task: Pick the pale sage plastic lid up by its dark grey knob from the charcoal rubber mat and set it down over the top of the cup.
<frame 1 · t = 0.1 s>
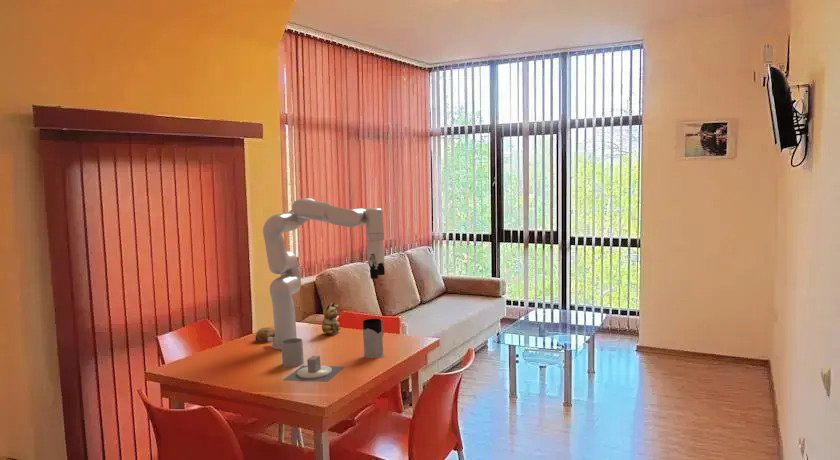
hand: (377, 276, 270), 31 cm above the table, tool pointing down, fingers open, 9 cm apart
glass holder: (377, 355, 263), on the table
lid: (314, 373, 240), point 1 cm above the table, touching mat
bread roll: (266, 340, 297), on the table
mat: (314, 374, 240), on the table
cup: (293, 365, 254), on the table
decorative figurine: (330, 334, 303), on the table
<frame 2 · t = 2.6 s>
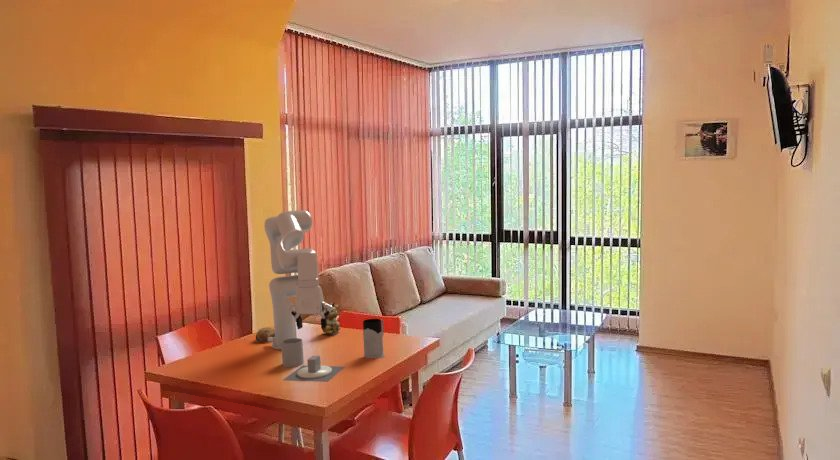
hand: (311, 328, 238), 18 cm above the table, tool pointing down, fingers open, 9 cm apart
nothing on the table moved.
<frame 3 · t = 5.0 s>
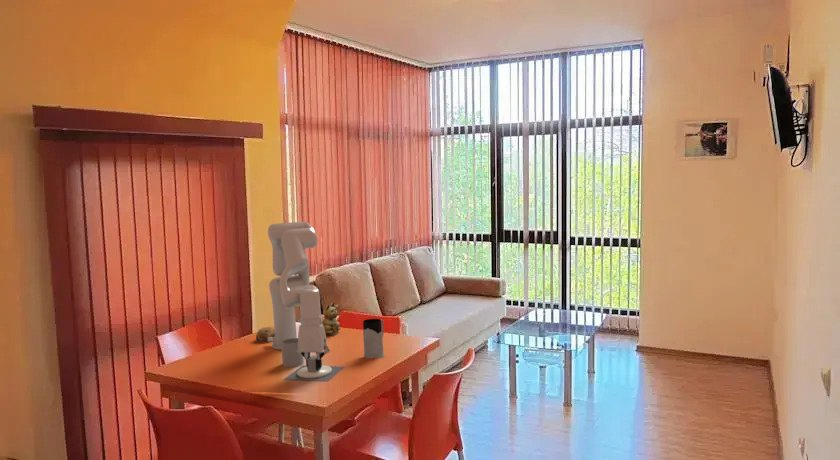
hand: (314, 368, 240), 2 cm above the table, tool pointing down, fingers closed on lid, 3 cm apart
lid: (314, 372, 240), point 1 cm above the table, touching gripper
everything else where it was.
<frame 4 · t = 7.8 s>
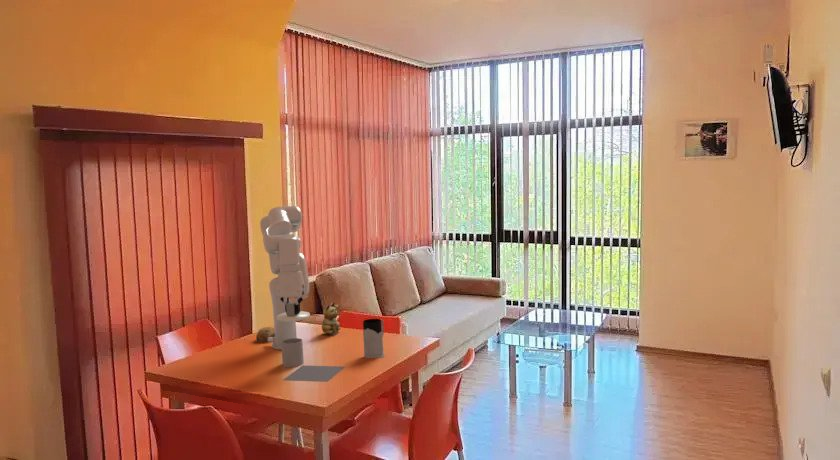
hand: (293, 313, 250), 22 cm above the table, tool pointing down, fingers closed on lid, 3 cm apart
lid: (293, 317, 250), point 20 cm above the table, touching gripper
everything else where it was.
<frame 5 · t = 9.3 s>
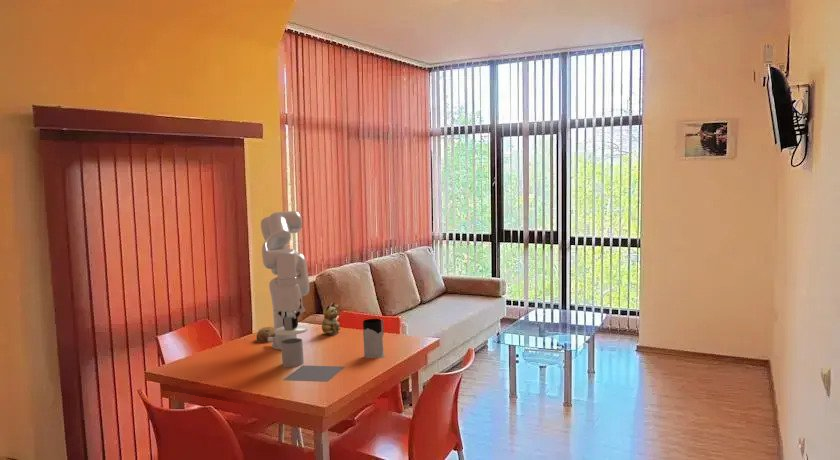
hand: (290, 327, 253), 16 cm above the table, tool pointing down, fingers closed on lid, 3 cm apart
lid: (291, 331, 253), point 14 cm above the table, touching gripper
everything else where it was.
when the fingers open (13 cm above the table, at t = 10.4 s): lid drops 2 cm, resting on cup.
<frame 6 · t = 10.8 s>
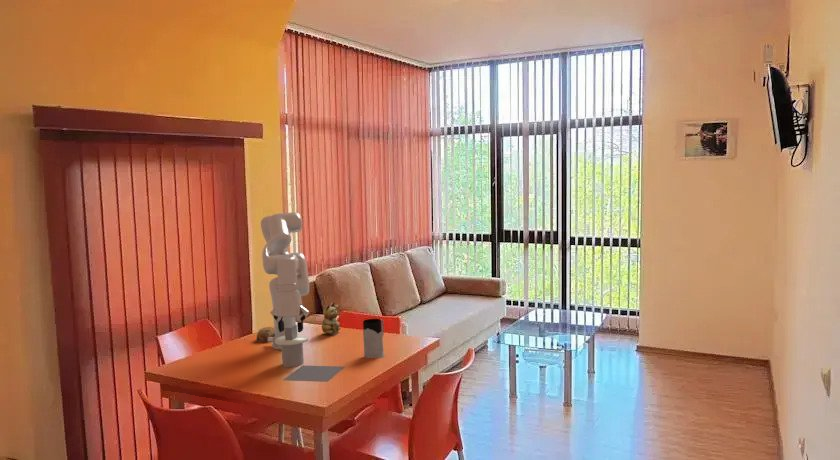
hand: (291, 331, 253), 14 cm above the table, tool pointing down, fingers open, 7 cm apart
lid: (291, 340, 253), point 10 cm above the table, touching cup
cup: (293, 365, 254), on the table, touching lid
everything else where it was.
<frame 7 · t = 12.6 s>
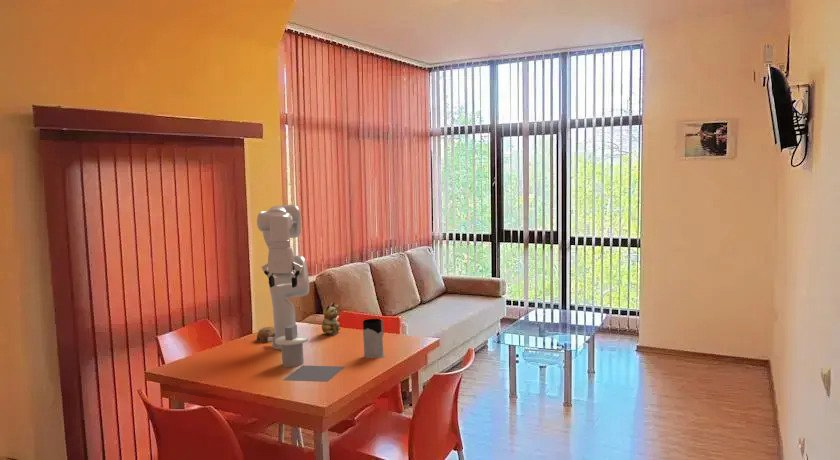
hand: (283, 286, 256), 31 cm above the table, tool pointing down, fingers open, 9 cm apart
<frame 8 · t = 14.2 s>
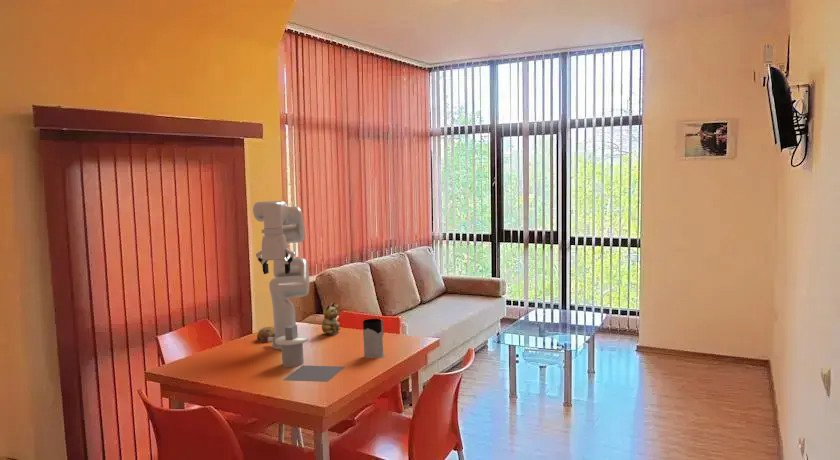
hand: (276, 273, 260), 36 cm above the table, tool pointing down, fingers open, 9 cm apart
at the end: lid 0.1 cm from the cup (horizontally); lid point 9.9 cm above the table; lid tilted 0° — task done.
